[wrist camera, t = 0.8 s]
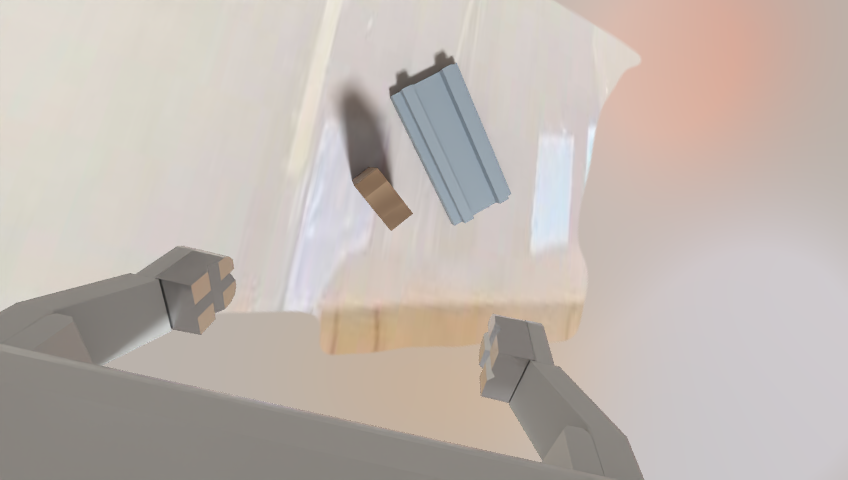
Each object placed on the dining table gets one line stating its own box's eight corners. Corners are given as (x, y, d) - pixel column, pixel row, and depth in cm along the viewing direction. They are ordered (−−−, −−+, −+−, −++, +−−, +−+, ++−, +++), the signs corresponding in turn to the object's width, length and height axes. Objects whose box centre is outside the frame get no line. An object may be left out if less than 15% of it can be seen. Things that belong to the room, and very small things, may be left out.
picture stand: (390, 97, 47) (393, 93, 44) (453, 66, 48) (460, 59, 45) (451, 223, 53) (457, 227, 50) (506, 193, 54) (515, 194, 51)
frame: (351, 180, 48) (354, 186, 35) (368, 167, 49) (377, 167, 35) (378, 213, 50) (390, 231, 37) (394, 200, 50) (412, 213, 37)
